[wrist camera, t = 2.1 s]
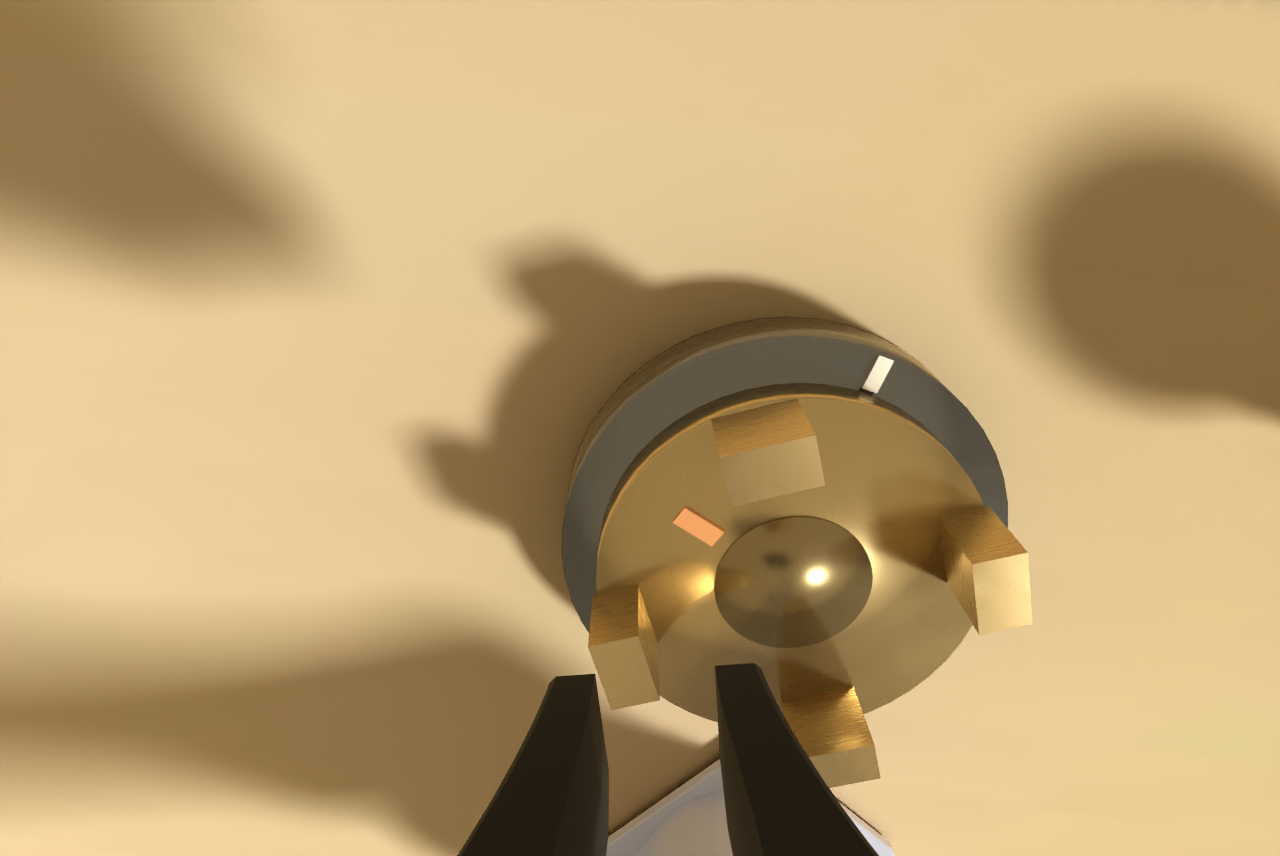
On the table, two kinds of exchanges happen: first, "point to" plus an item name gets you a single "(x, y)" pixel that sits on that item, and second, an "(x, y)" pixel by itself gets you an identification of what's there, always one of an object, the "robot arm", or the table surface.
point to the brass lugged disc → (798, 563)
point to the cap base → (747, 363)
